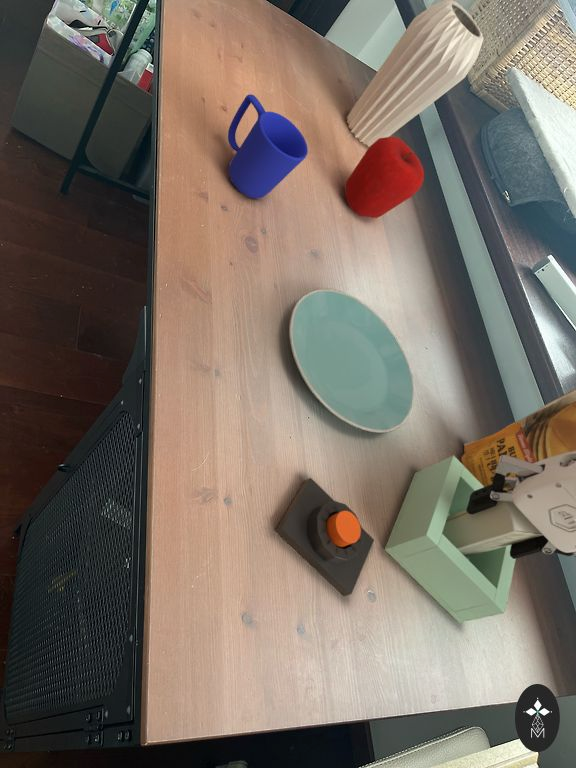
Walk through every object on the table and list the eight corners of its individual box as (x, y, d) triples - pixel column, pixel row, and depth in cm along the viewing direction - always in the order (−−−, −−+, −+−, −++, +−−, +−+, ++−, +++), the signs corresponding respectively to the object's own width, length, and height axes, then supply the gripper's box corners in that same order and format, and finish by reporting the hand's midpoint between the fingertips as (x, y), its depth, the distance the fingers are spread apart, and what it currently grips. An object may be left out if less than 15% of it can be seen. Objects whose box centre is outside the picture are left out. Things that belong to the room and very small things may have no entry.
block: (367, 542, 74) (384, 535, 72) (344, 596, 69) (362, 591, 67) (304, 480, 73) (320, 472, 71) (275, 530, 67) (291, 523, 65)
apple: (387, 222, 112) (444, 173, 103) (360, 234, 104) (418, 181, 95) (354, 175, 112) (408, 121, 103) (324, 183, 105) (379, 126, 95)
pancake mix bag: (478, 440, 98) (652, 359, 79) (512, 561, 90) (717, 503, 71) (451, 434, 95) (627, 347, 75) (483, 560, 86) (691, 499, 67)
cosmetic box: (458, 526, 83) (536, 498, 75) (466, 559, 81) (547, 535, 73) (427, 522, 79) (505, 493, 71) (434, 557, 77) (515, 531, 69)
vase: (339, 139, 115) (447, 21, 97) (332, 93, 122) (431, -26, 103) (391, 169, 122) (500, 64, 104) (381, 124, 129) (482, 18, 111)
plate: (249, 343, 77) (262, 332, 75) (325, 275, 93) (337, 265, 91) (364, 473, 79) (380, 465, 77) (419, 385, 95) (433, 376, 93)
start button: (354, 529, 70) (364, 525, 69) (343, 553, 68) (354, 549, 67) (333, 508, 70) (343, 503, 69) (321, 532, 67) (331, 527, 66)
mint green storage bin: (480, 539, 88) (522, 526, 83) (459, 623, 78) (505, 613, 73) (414, 472, 85) (453, 455, 81) (384, 549, 75) (426, 534, 71)
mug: (236, 138, 95) (273, 89, 88) (277, 202, 94) (317, 157, 87) (197, 140, 89) (233, 87, 82) (241, 208, 88) (281, 160, 81)
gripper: (575, 443, 59) (436, 500, 71) (684, 563, 62) (532, 597, 74) (581, 398, 64) (451, 457, 77) (681, 509, 67) (540, 550, 79)
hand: (492, 526), depth 75 cm, fingers closed on cosmetic box, 7 cm apart
